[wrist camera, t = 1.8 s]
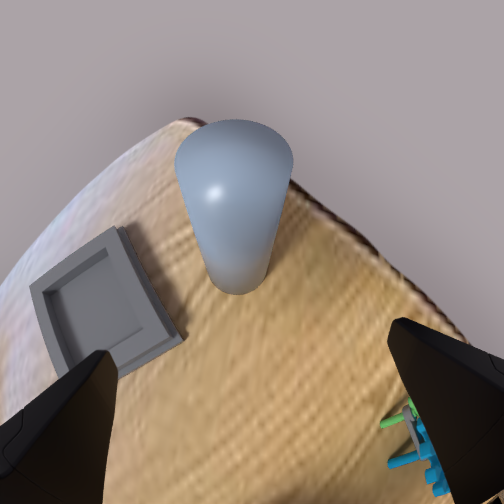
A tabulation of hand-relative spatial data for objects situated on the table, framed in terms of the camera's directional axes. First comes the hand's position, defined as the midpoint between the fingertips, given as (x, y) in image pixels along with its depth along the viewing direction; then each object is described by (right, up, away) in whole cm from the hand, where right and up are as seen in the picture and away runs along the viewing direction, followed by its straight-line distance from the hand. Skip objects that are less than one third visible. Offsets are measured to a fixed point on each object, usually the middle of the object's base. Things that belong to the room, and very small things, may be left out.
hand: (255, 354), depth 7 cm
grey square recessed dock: (-14, -3, +13) cm, 19 cm away
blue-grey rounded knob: (-1, +2, +15) cm, 15 cm away
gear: (+15, -14, +9) cm, 22 cm away
